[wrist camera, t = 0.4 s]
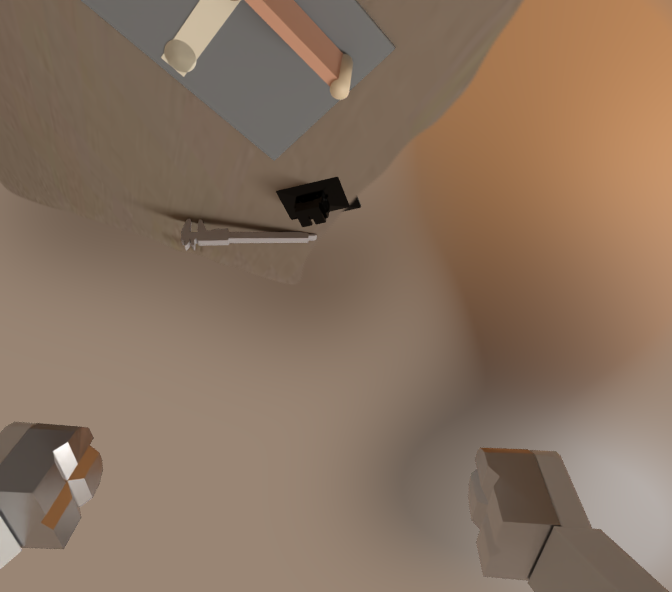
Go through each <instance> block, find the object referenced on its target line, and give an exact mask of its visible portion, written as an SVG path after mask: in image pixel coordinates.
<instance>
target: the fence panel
mask: <svg viewBox="0 0 672 592" xmlns="http://www.w3.org/2000/svg"><path fill="white" fill-rule="evenodd" d="M245 1H246V2H247V3H248V4H249V5H250V6H251V7H252V8H253V9H254V11H255V12H256V13H257V14H258V15H259V16H260V17H261V18H262V19H263V20H264V21H265V22H266V23H267V24H268V25H269V26H270V27H271V28H272V29H273V30H274V31H275V32H276V33H277V34H278V35H279V36H280V37H281V38H282V39H283V40H284V41H285V42H286V43H287V44H288V45H289V46H290V47H291V48H292V49H293V50H294V51H295V52H296V53H297V54H298V55H299V56H300V57H301V58H302V59H303V60H304V61H305V62H306V63H307V64H308V65H309V66H310V67H311V68H312V69H313V70H314V71H315V72H316V73H317V74H318V75H319V76H320V77H321V78H322V79H323V80H324V81H325V82H326V83H327V84H328V85H329V86H330V93H331V95H332V96H333V97H334V98H335V99H338V100H342V99H345V98H346V97H347V96H348V94H349V90H350V82H351V75H352V68H353V60H352V58H351V57H350V56H349V55H347V54H343V53H342V52H341V51H340V50H339V49H338V48H337V47H336V45H335V44H334V43H333V42H332V41H331V40H330V39H329V38H328V37H327V36H326V35H325V34H324V32H323V31H322V30H321V29H320V28H319V27H318V26H317V25H316V24H315V23H314V22H313V21H312V19H311V18H310V17H309V16H308V15H307V14H306V13H305V12H304V11H303V10H302V9H301V7H300V6H299V5H298V4H297V3H296V2H295V1H294V0H245Z"/></svg>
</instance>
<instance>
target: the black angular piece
mask: <svg viewBox="0 0 672 592" xmlns="http://www.w3.org/2000/svg"><path fill="white" fill-rule="evenodd" d="M276 193H277V194H278V196H279V198H280V200H281V202H282V204H283V205H284V207H285V209H286V211H287V213H288V215H289V217H290V218H291V220H293V219H298V220H299V222H300V224H301V225H302V227H306V226H311V225H312V221H311V219H313V220H314V222H315V224H320V223H325V222H326V218H328V216H329V212H330V211H334V210H338V209H343V208H346V209H344V211H348V210H353V209H357V208H361V204H360V201H359V198H358V196H357V197H356V198H355V199H354V200H353V201H352V202H351V203H350V204H349V203H348V201H347V198H346V196H345V193H344V191H343V188H342V186H341V183H340V181H339V178H338V177H334V178H330V179H326V180H321V181H317V182H313V183H309V184H305V185H300V186H296V187H292V188H288V189H283V190H279V191H276ZM344 211H343V212H344Z"/></svg>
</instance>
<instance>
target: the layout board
mask: <svg viewBox="0 0 672 592" xmlns="http://www.w3.org/2000/svg"><path fill="white" fill-rule="evenodd" d="M81 1H82V2H84V3H85V4H86V5H87V6H88V7H90V8H91V9H92V10H93V11H94V12H96V13H97V14H98V15H99V16H100V17H102V18H103V19H104V20H105V21H106V22H108V23H109V24H110V25H111V26H112V27H114V28H115V29H116V30H117V31H118V32H120V33H121V34H122V35H123V36H124V37H126V38H127V39H128V40H129V41H130V42H132V43H133V44H134V45H135V46H137V47H138V48H139V49H140V50H141V51H143V52H144V53H145V54H146V55H147V56H149V57H150V58H151V59H152V60H153V61H155V62H156V63H157V64H158V65H159V66H161V67H162V68H163V69H164V70H165V71H167V72H168V73H169V74H170V75H171V76H173V77H174V78H175V79H176V80H177V81H179V82H180V83H181V84H182V85H183V86H185V87H186V88H187V89H188V90H190V91H191V92H192V93H193V94H194V95H196V96H197V97H198V98H199V99H200V100H202V101H203V102H204V103H205V104H206V105H208V106H209V107H210V108H211V109H212V110H214V111H215V112H216V113H217V114H218V115H220V116H221V117H222V118H223V119H224V120H226V121H227V122H228V123H229V124H230V125H232V126H233V127H234V128H235V129H237V130H238V131H239V132H240V133H241V134H243V135H244V136H245V137H246V138H247V139H249V140H250V141H251V142H252V143H253V144H255V145H256V146H257V147H258V148H259V149H261V150H262V151H263V152H264V153H265V154H267V155H268V156H269V157H270V158H271V159H273V160H274V161H275V160H276V159H277V158H278V157H279V156H280V155H281V154H282V153H283V152H284V151H285V150H286V149H287V148H289V147H290V146H291V145H292V144H293V143H294V142H295V141H296V140H297V139H298V138H299V137H300V136H302V135H303V134H304V133H305V132H306V131H307V130H308V129H309V128H310V127H311V126H312V125H313V124H314V123H316V122H317V121H318V120H319V119H320V118H321V117H322V116H323V115H324V114H325V113H326V112H327V111H328V110H330V109H331V108H332V107H333V106H334V105H335V104H336V103H337V102H338V101H339V100H338V99H335V98H334V97H333V96H332V95H331V93H330V86H329V85H328V84H327V83H326V82H325V81H324V80H323V79H322V78H321V77H320V76H319V75H318V74H317V73H316V72H315V71H314V70H313V69H312V68H311V67H310V66H309V65H308V64H307V63H306V62H305V61H304V60H303V59H302V58H301V57H300V56H299V55H298V54H297V53H296V52H295V51H294V50H293V49H292V48H291V47H290V46H289V45H288V44H287V43H286V42H285V41H284V40H283V39H282V38H281V37H280V36H279V35H278V34H277V33H276V32H275V31H274V30H273V29H272V28H271V27H270V26H269V25H268V24H267V23H266V22H265V21H264V20H263V19H262V18H261V17H260V16H259V15H258V14H257V13H256V12H255V11H254V9H253V8H252V7H251V6H250V5H249V4H248V3H247V2H246V1H245V0H238V1H231V0H81ZM294 1H295V2H296V3H297V4H298V5H299V6H300V7H301V9H302V10H303V11H304V12H305V13H306V14H307V15H308V16H309V17H310V18H311V19H312V21H313V22H314V23H315V24H316V25H317V26H318V27H319V28H320V29H321V30H322V31H323V32H324V34H325V35H326V36H327V37H328V38H329V39H330V40H331V41H332V42H333V43H334V44H335V45H336V47H337V48H338V49H339V50H340V51H341V52H342V53H343V54H347V55H349V56H350V57H351V58H352V60H353V68H352V75H351V82H350V90H351V89H352V88H353V87H354V86H355V85H356V84H358V83H359V82H360V81H361V80H362V79H363V78H364V77H365V76H366V75H367V74H368V73H369V72H371V71H372V70H373V69H374V68H375V67H376V66H377V65H378V64H379V63H380V62H381V61H382V60H383V59H385V58H386V57H387V56H388V55H389V54H390V53H391V52H392V51H393V50H394V49H395V46H394V45H393V44H392V42H391V41H390V40H389V39H388V38H387V36H386V35H385V34H384V33H383V32H382V31H381V29H380V28H379V27H378V26H377V25H376V23H375V22H374V21H373V20H372V19H371V17H370V16H369V15H368V14H367V13H366V11H365V10H364V9H363V8H362V7H361V5H360V4H359V3H358V2H357V1H356V0H294ZM350 90H349V91H350Z"/></svg>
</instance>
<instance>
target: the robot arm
mask: <svg viewBox="0 0 672 592" xmlns="http://www.w3.org/2000/svg"><path fill="white" fill-rule="evenodd" d="M92 440H93V436H92V434H91V431H90V429H89V428H88V427H77V426H65V425H52V424H40V423H25V422H13V423H12V424H10V425H8V426H6V427H5V428H4V429H3V430H2V431H1V433H0V569H1V568H2V567H3V566H4V565H5V564H7V563H8V562H9V561H10V560H11V559H12V558H14V557H15V556H16V555H17V554H18V553H19V552H21V551H22V549H21V548H46V549H48V548H49V549H64V548H65V546H66V544H67V542H68V541H69V539H70V537H71V535H72V533H73V532H74V530H75V528H76V526H77V525H78V522H79V521H80V519H81V512H80V506H82V505H83V504H84V503H86V502H87V501H89V500H90V499H91V498H93V496H94V494H95V492H96V489H97V488H98V486H99V484H100V480H101V476H102V472H103V467H102V466H103V465H102V458H101V456H100V453H99V452H98V451H97V450H95V449H94V448H93V447H92V446H90V444H91V442H92ZM475 462H476V466H477V470H475V471H474V472H472V473H471V476H470V481H469V494H468V499H469V507H470V514H471V519H472V521H473V522H474V523H475V525H477V527H478V528H479V529H480V531H479V534H478V538H477V541H476V543H477V548H478V553H479V557H480V563H481V567H482V572H483V576H485V577H495V578H506V579H517V580H527V581H528V584H529V585H530V587H531V588H532V589H533V591H534V592H669V591H668V590H667V589H666V588H664V587H663V586H662V585H661V584H660V583H659V582H658V581H657V580H656V579H654V578H653V577H652V576H651V575H650V574H649V573H648V572H647V571H646V570H645V569H644V568H642V567H641V566H640V565H639V564H638V563H637V562H636V561H635V560H634V559H632V558H631V557H630V556H629V555H628V554H627V553H626V552H625V551H624V550H623V549H622V548H620V547H619V546H618V545H617V544H616V543H615V542H614V541H613V540H612V539H611V538H609V537H608V536H607V535H606V534H605V533H604V532H603V531H602V530H601V529H592V527H591V524H590V522H589V520H588V518H587V515H586V513H585V511H584V508H583V507H582V504H581V502H580V499H579V497H578V495H577V492H576V490H575V488H574V485H573V483H572V481H571V479H570V476H569V474H568V472H567V470H566V467H565V465H564V463H563V460H562V458H561V456H560V455H559V454H558V453H557V452H556V451H540V450H539V451H538V450H528V449H506V448H481V447H480V448H479V450H478V451H477V454H476V457H475Z"/></svg>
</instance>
